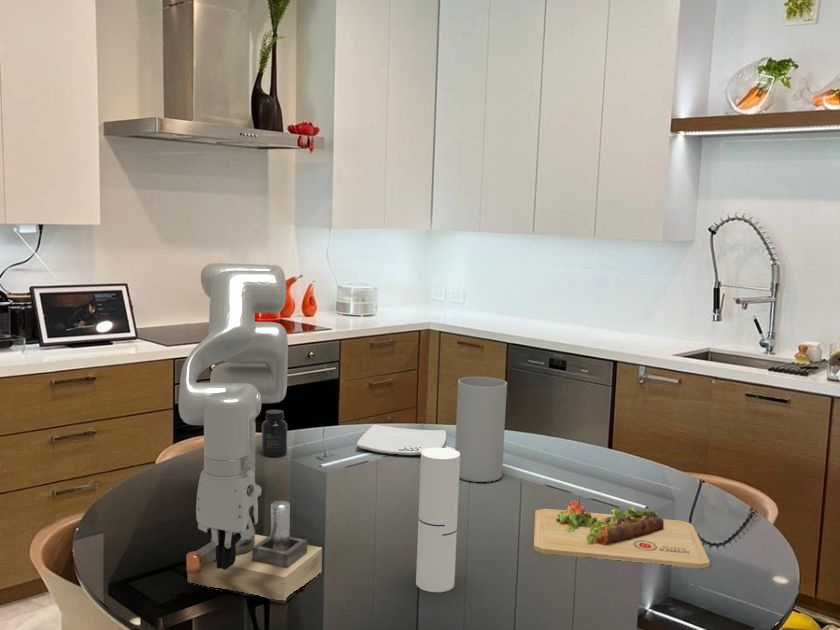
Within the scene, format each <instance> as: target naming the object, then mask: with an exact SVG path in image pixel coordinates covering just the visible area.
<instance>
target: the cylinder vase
mask: <svg viewBox="0 0 840 630" xmlns="http://www.w3.org/2000/svg"><path fill="white" fill-rule="evenodd" d="M457 381H458V382H457V395H456V397H457V400H456V401H457V402H456V419H455V420H456V422H455V425H456V426H455V444H454V445H455V447H454V448H455V449H454V450H456V451H458V452H459V453H460V470H459V480H462V481H466V482H469V481H471V482H470V483H476V482H481V483H480V484H483V483H482V482H487V483H492V482H491V481H493V482H496V480H497V481H498V480H500V479H501V478H502V477H503V465H504V449H505V448H504V447H505V446H504V445H505V429H506V428H505V426H506V410H507V409H506V407H507V393H508V392H507V389H508V382H507V381H506V380H503V379H500V378H495V377H487V376H466V377H461V378H459V379H458V380H457Z"/></svg>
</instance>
